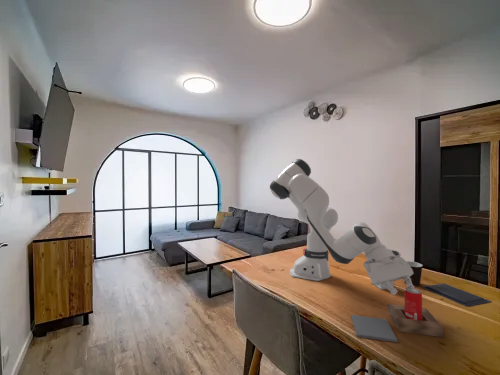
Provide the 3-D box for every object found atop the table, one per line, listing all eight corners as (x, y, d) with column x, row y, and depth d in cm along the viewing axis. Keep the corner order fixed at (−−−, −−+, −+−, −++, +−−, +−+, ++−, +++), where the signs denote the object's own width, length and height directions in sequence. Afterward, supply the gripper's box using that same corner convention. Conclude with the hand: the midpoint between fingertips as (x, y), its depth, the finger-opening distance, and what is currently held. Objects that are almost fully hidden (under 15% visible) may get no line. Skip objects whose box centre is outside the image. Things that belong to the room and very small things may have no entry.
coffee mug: (426, 287, 113) (426, 267, 113) (406, 286, 115) (406, 266, 115) (414, 278, 125) (414, 259, 125) (396, 277, 127) (396, 259, 126)
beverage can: (401, 319, 87) (401, 287, 87) (414, 318, 88) (414, 286, 88) (412, 328, 82) (411, 294, 82) (426, 327, 83) (425, 293, 82)
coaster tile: (356, 336, 78) (356, 334, 78) (351, 316, 90) (351, 314, 90) (397, 342, 75) (397, 340, 75) (386, 321, 86) (386, 319, 86)
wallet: (420, 284, 115) (444, 281, 118) (420, 288, 115) (444, 284, 118) (466, 304, 95) (494, 299, 99) (466, 308, 95) (494, 304, 99)
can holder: (399, 331, 80) (399, 322, 80) (387, 311, 93) (387, 304, 93) (444, 337, 77) (444, 328, 77) (425, 315, 89) (425, 308, 89)
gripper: (366, 257, 90) (391, 293, 81) (401, 251, 98) (427, 283, 89) (357, 265, 94) (379, 300, 85) (391, 258, 102) (414, 290, 93)
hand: (404, 291), depth 87 cm, fingers open, 8 cm apart
